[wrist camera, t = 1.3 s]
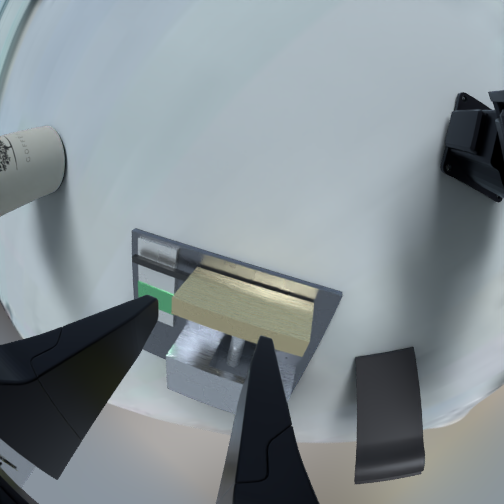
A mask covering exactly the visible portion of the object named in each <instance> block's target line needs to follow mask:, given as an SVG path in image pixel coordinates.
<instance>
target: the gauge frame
mask: <svg viewBox="0 0 504 504" xmlns="http://www.w3.org/2000/svg"><path fill="white" fill-rule="evenodd" d="M135 254H137V255H139V256H142V257H145V258H148V259H150V260H153V261H156V262H159V263H161V264H164V265H167V266H170V267H173V268H176V269H179V270H181V271H184V272H187V273H190V274H192V273H193V271H194V270H195V269H196V268H197V267H200V268H203V269H206V270H209V271H212V272H215V273H218V274H221V275H224V276H227V277H230V278H234V279H237V280H240V281H243V282H246V283H249V284H253V285H256V286H259V287H262V288H266V289H269V290H272V291H275V292H279V293H282V294H285V295H289V296H292V297H295V298H299V299H302V300H305V301H309V302H312V303H314V309H313V318H312V327H311V336H310V343H309V345H308V347H307V349H306V351H305V353H304V355H303V357H300V356H297V355H293V354H290V353H286V352H283V351H279V350H276V349H275V352H276V356H277V361H278V365H279V369H280V374H281V378H282V382H283V387H284V391H285V396H286V400H287V402H288V400H289V399H290V395H291V393H292V391H293V390H294V388H295V386H296V385H297V383H298V381H299V379H300V378H301V376H302V374H303V372H304V371H305V369H306V367H307V365H308V363H309V361H310V360H311V358H312V356H313V354H314V352H315V350H316V348H317V347H318V345H319V343H320V341H321V339H322V337H323V335H324V333H325V331H326V329H327V327H328V325H329V323H330V321H331V319H332V317H333V315H334V313H335V311H336V308H337V306H338V304H339V302H340V300H341V298H342V292H341V291H337V290H334V289H331V288H327V287H324V286H320V285H317V284H314V283H310V282H307V281H304V280H300V279H297V278H294V277H290V276H287V275H284V274H280V273H277V272H274V271H270V270H267V269H264V268H261V267H257V266H254V265H251V264H247V263H244V262H241V261H238V260H234V259H231V258H228V257H225V256H221V255H218V254H215V253H212V252H209V251H205V250H202V249H199V248H196V247H193V246H189V245H186V244H183V243H180V242H177V241H174V240H170V239H167V238H164V237H161V236H158V235H155V234H152V233H148V232H145V231H142V230H139V229H136V228H135V229H134V230H132V256H133V255H135ZM132 268H133V288H134V299H136V298H139V297H142V296H144V295H150V296H153V297H155V298H157V299H158V305H159V317H158V321H157V323H156V325H155V327H154V328H153V330H152V332H151V334H150V336H149V338H148V340H147V341H146V343H145V345H144V347H143V349H144V350H146V351H148V352H150V353H152V354H155V355H157V356H159V357H161V358H164V359H166V370H167V388H168V389H171V390H173V391H175V392H178V393H180V394H182V395H185V396H187V397H190V398H192V399H195V400H197V401H200V402H203V403H205V404H208V405H211V406H214V407H216V408H219V409H222V410H225V411H228V412H231V413H234V414H236V410H237V405H238V400H239V396H240V393H241V389H242V386H243V384H244V381H245V378H246V375H247V372H248V369H249V366H250V363H251V359H252V357H253V354H254V351H255V348H256V345H257V344H256V343H253V342H250V341H247V340H246V341H245V344H244V348H243V351H242V355H241V358H240V362H239V365H238V366H236V367H231V366H229V365H228V364H227V362H226V360H227V356H228V351H229V347H230V343H231V338H232V336H231V335H228V334H226V333H223V332H220V331H217V330H214V329H211V328H208V327H206V326H203V325H200V324H197V323H195V322H192V321H189V320H187V319H184V318H182V317H179V316H176V315H174V314H171V310H172V296H173V295H174V294H175V293H176V292H177V290H178V289H179V288H180V287H181V286H182V284H183V283H184V282H185V281H182V280H179V279H176V278H174V277H171V276H168V275H165V274H163V273H160V272H157V271H154V270H152V269H149V268H146V267H144V266H141V265H138V264H136V263H133V262H132Z"/></svg>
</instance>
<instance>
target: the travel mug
mask: <svg viewBox="0 0 504 504" xmlns="http://www.w3.org/2000/svg"><path fill="white" fill-rule="evenodd" d="M64 168H65V156H64V149H63V145H62V142H61V139H60V137H59V135H58V133H57V132H56V130H55V129H54V128H52V127H50V126H42V127H36V128H31V129H27V130H22V131H18V132H13V133H9V134H5V135H2V136H0V216H2V215H4V214H6V213H8V212H10V211H13V210H15V209H17V208H19V207H21V206H23V205H25V204H27V203H30V202H32V201H34V200H36V199H39V198H41V197H43V196H46V195H48V194H51V193H53V192H55V191H56V190H57V189H58V188H59V186H60V184H61V182H62V179H63V175H64Z"/></svg>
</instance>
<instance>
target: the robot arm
mask: <svg viewBox="0 0 504 504" xmlns="http://www.w3.org/2000/svg"><path fill="white" fill-rule="evenodd" d="M488 93H489V96H490V99H491V101H493V104H494V108H495V110H491V109H490V108H489V107H487V106H486V105H484V104H483V103H481V102H479V101H478V100H476V99H475V98H473V97H472V96H470V95H468V94H467V93H464V92H463V93H459V94H458V96H457V100H456V106H455V111H453V112H452V114H451V118H450V123H449V127H448V131H447V136H446V140H445V144H446V149H445V152H444V156H443V160H442V163H441V170H442V172H444V173H445V174H447V175H449V176H451V177H453V178H455V179H457V180H459V181H461V182H463V183H465V184H466V185H468V186H470V187H472V188H474V189H475V190H477V191H479V192H481V193H483V194H484V195H486V196H488V197H489V198H491V199H493V200H494V201H496V202H501V201H502V199H503V198H504V90H500V91H492V92H488ZM462 97H464V98H465V102H464V101H463V100H462ZM446 165H449V170H446ZM497 195H498V197H497ZM158 317H159V305H158V299H157V298H155V297H153V296H150V295H144V296H142V297H139V298H136V299H134V300H131V301H128V302H126V303H123V304H121V305H118V306H115V307H113V308H110V309H107V310H105V311H102V312H99V313H97V314H94V315H92V316H89V317H86V318H84V319H81V320H78V321H76V322H73V323H70V324H68V325H65V326H63V327H60V328H57V329H54V330H52V331H49V332H46V333H43V334H40V335H37V336H33V337H30V338H26V339H22V340H18V341H15V342H11V343H7V344H3V345H0V504H38V503H37V502H36V501H35V500H34V499H32V498H31V497H30V496H29V495H28V494H27V493H26V492H25V491H24V490H23V489H21V488H22V486H23V485H24V483H25V482H26V480H27V479H28V477H29V476H30V474H31V473H32V471H33V470H34V469H35V467H38V468H39V469H41V470H42V471H44V472H45V473H47V474H48V475H50V476H51V477H53V478H55V479H56V480H58V478H59V477H60V475H61V474H62V472H63V470H64V469H65V467H66V466H67V464H68V462H69V461H70V459H71V457H72V456H73V454H74V453H75V451H76V449H77V447H78V446H79V445H80V443H81V442H82V440H83V438H84V437H85V435H86V434H87V432H88V430H89V429H90V427H91V426H92V424H93V423H94V421H95V420H96V418H97V417H98V415H99V414H100V412H101V410H102V409H103V408H104V406H105V404H106V403H107V402H108V400H109V399H110V397H111V396H112V394H113V393H114V391H115V390H116V388H117V387H118V385H119V384H120V382H121V381H122V379H123V378H124V376H125V375H126V374H127V372H128V371H129V369H130V368H131V366H132V365H133V363H134V362H135V360H136V359H137V357H138V356H139V354H140V353H141V351H142V349H143V347H144V345H145V343H146V341H147V340H148V338H149V336H150V334H151V332H152V330H153V328H154V327H155V325H156V323H157V321H158ZM291 425H292V422H291V418H290V413H289V409H288V404H287V400H286V396H285V391H284V387H283V382H282V378H281V374H280V369H279V365H278V361H277V356H276V352H275V347H274V343H273V340H272V338H269V337H266V336H262V335H261V336H260V337H259V339H258V342H257V345H256V348H255V351H254V354H253V357H252V359H251V363H250V366H249V369H248V372H247V375H246V378H245V381H244V384H243V386H242V389H241V393H240V396H239V400H238V405H237V410H236V414H235V419H234V424H233V429H232V433H231V438H230V443H229V447H228V452H227V456H226V461H225V466H224V470H223V475H222V479H221V484H220V488H219V493H218V497H217V501H216V504H319V502H318V500H317V497H316V495H315V492H314V490H313V487H312V485H311V482H310V480H309V477H308V475H307V472H306V470H305V467H304V465H303V462H302V459H301V456H300V453H299V450H298V446H297V442H296V439H295V435H294V430H293V427H292V426H291Z"/></svg>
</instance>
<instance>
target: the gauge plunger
mask: <svg viewBox="0 0 504 504" xmlns="http://www.w3.org/2000/svg"><path fill="white" fill-rule="evenodd" d="M132 262H133V263H136V264H138V265H141V266H144V267H146V268H149V269H152V270H154V271H157V272H160V273H163V274H165V275H168V276H171V277H174V278H176V279H179V280H182V281H185V282H184V283H183V284H182V286H181V287H180V288H179V289H178V290H177V292H176V293H175V294H174V295H173V296H172V310H171V314H174V315H176V316H179V317H182V318H184V319H187V320H189V321H192V322H195V323H197V324H200V325H203V326H206V327H208V328H211V329H214V330H217V331H220V332H223V333H226V334H228V335H231V336H232V338H231V343H230V347H229V351H228V356H227V360H226V362H227V364H228V365H229V366H231V367H236V366H238V365H239V362H240V358H241V355H242V351H243V348H244V344H245V341H246V340H247V341H250V342H253V343H256V344H257V342H258V339H259V337H260V336H261V335H262V336H266V337H269V338H272V340H273V343H274V347H275V349H276V350H279V351H283V352H286V353H290V354H293V355H297V356H300V357H303V355H304V353H305V351H306V349H307V347H308V345H309V343H310V336H311V327H312V318H313V309H314V303H312V302H309V301H305V300H302V299H299V298H295V297H292V296H289V295H285V294H282V293H279V292H275V291H272V290H269V289H266V288H262V287H259V286H256V285H253V284H249V283H246V282H243V281H240V280H237V279H234V278H230V277H227V276H224V275H221V274H218V273H215V272H212V271H209V270H206V269H203V268H200V267H197V268H196V269H195V270H194V271H193V273H192V274H190V273H187V272H184V271H181V270H179V269H176V268H173V267H170V266H167V265H164V264H161V263H159V262H156V261H153V260H150V259H148V258H145V257H142V256H139V255H137V254H135V255H133V256H132Z"/></svg>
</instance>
